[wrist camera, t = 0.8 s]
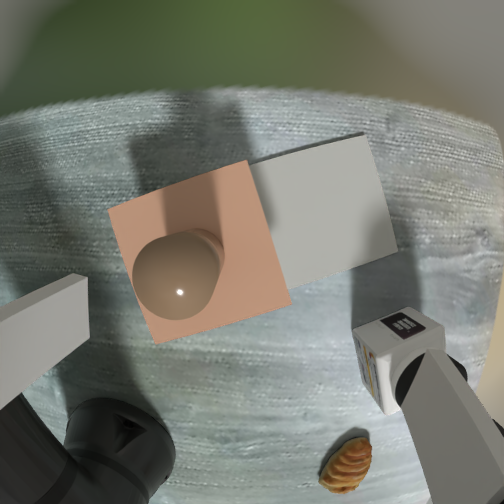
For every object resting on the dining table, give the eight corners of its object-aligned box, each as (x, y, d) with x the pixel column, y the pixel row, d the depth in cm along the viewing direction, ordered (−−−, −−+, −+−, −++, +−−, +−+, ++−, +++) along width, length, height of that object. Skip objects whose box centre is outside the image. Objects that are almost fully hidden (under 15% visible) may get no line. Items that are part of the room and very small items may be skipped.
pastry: (335, 434, 35) (343, 451, 31) (379, 433, 36) (389, 449, 32) (314, 479, 36) (320, 497, 32) (356, 478, 37) (363, 494, 33)
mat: (285, 289, 32) (286, 290, 32) (247, 166, 31) (247, 165, 31) (396, 251, 32) (398, 251, 32) (364, 135, 31) (365, 134, 30)
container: (350, 328, 33) (401, 384, 20) (409, 304, 33) (477, 343, 20) (361, 383, 34) (406, 448, 21) (416, 359, 34) (475, 410, 21)
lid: (158, 340, 27) (120, 398, 17) (112, 209, 25) (47, 208, 15) (290, 300, 26) (316, 348, 17) (246, 161, 25) (249, 129, 15)
